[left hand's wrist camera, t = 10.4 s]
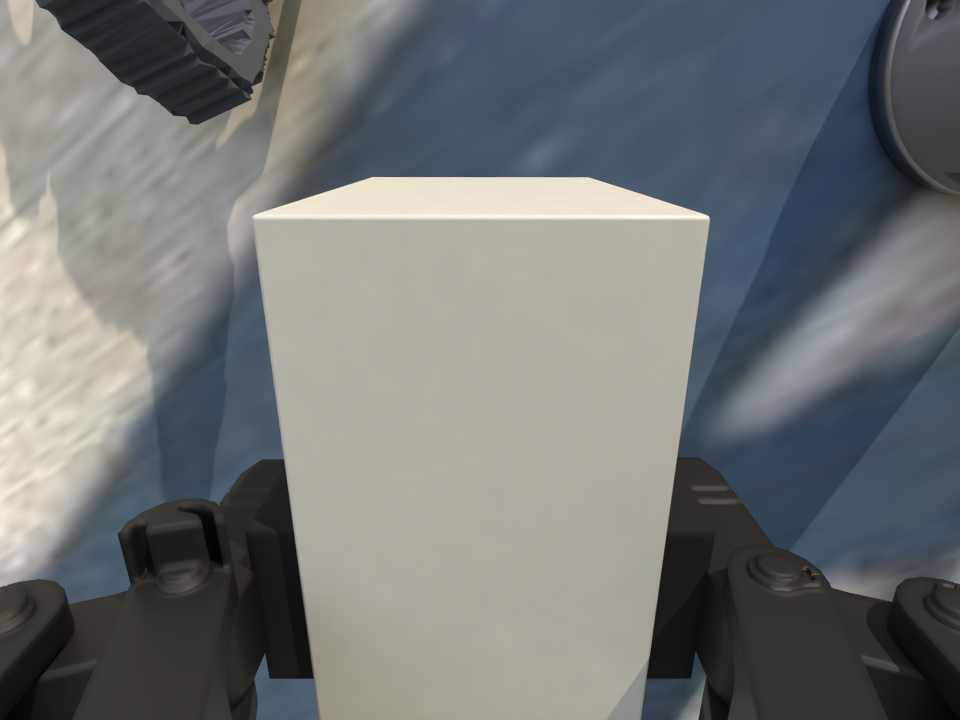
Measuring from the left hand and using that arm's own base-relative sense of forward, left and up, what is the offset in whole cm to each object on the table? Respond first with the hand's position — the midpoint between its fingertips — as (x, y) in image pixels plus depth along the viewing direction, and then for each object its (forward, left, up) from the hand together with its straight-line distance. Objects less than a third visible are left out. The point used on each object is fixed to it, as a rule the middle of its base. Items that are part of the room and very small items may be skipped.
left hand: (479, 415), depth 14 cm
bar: (+16, +28, -1) cm, 33 cm away
